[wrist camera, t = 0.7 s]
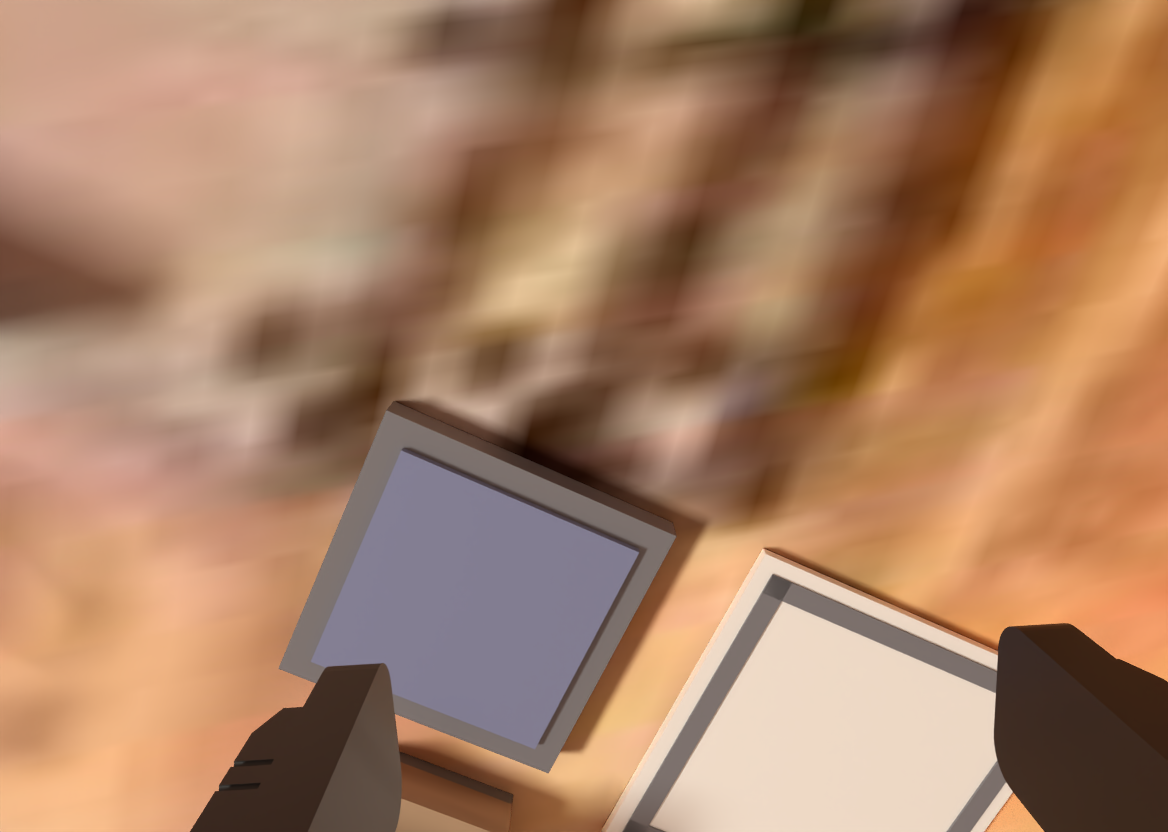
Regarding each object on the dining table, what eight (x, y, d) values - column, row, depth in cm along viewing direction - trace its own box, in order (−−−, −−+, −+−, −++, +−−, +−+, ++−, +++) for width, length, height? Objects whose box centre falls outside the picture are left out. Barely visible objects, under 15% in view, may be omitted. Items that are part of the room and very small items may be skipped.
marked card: (763, 548, 31) (766, 555, 31) (1077, 685, 33) (1086, 695, 32) (601, 829, 35) (602, 840, 34) (893, 940, 37) (898, 952, 36)
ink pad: (393, 400, 30) (384, 413, 28) (672, 522, 31) (677, 539, 30) (289, 650, 32) (275, 673, 31) (549, 752, 34) (548, 778, 32)
